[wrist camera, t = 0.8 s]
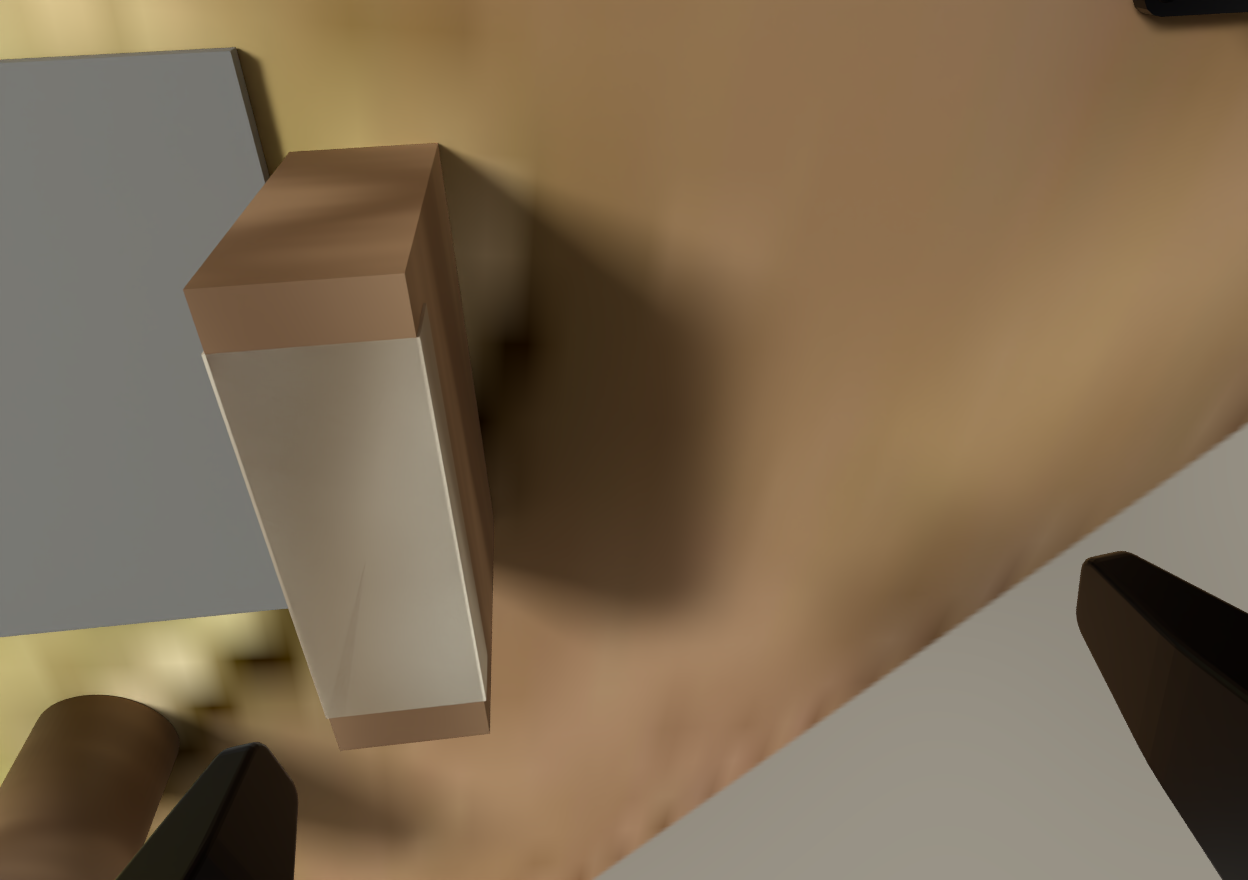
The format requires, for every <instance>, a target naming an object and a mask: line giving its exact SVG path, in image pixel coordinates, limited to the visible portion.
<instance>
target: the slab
mask: <svg viewBox="0 0 1248 880" xmlns="http://www.w3.org/2000/svg"><path fill="white" fill-rule="evenodd" d="M183 292H184V295H185V298H186V301H187V304H188V306H189V309H190V312H191V315H192V318H193V321H194V324H195V327H196V330H197V333H198V336H199V339H200V342H201V345H202V348H203V350H204V351H203V353H202V354H201V355H202V358H203V361H204V364H205V367H206V370H207V373H208V376H209V379H210V382H211V385H212V387H213V390H214V393H215V396H216V399H217V402H218V405H219V408H220V411H221V414H222V417H223V419H224V422H225V425H226V428H227V431H228V434H229V437H230V440H231V443H232V446H233V449H234V451H235V454H236V457H237V460H238V463H239V466H240V469H241V472H242V475H243V478H244V481H245V483H246V486H247V489H248V492H249V495H250V498H251V501H252V504H253V507H254V510H255V513H256V515H257V518H258V521H259V524H260V527H261V530H262V533H263V536H264V539H265V542H266V545H267V547H268V550H269V553H270V556H271V559H272V562H273V565H274V568H275V571H276V574H277V577H278V579H279V582H280V585H281V588H282V591H283V594H284V597H285V600H286V603H287V606H288V609H289V611H290V614H291V617H292V620H293V623H294V626H295V629H296V632H297V635H298V638H299V641H300V643H301V646H302V649H303V652H304V655H305V658H306V661H307V664H308V667H309V670H310V673H311V675H312V678H313V681H314V684H315V687H316V690H317V693H318V696H319V699H320V702H321V705H322V707H323V710H324V713H325V716H326V719H328V718H329V720H330V723H331V726H332V729H333V732H334V735H335V738H336V740H337V743H338V746H339V749H340V751H342V750H351V749H360V748H369V747H378V746H386V745H395V744H404V743H413V742H421V741H430V740H439V739H448V738H457V737H465V736H474V735H483V734H490V699H491V651H492V604H493V556H494V516H493V509H492V502H491V496H490V489H489V482H488V476H487V469H486V462H485V455H484V449H483V442H482V435H481V428H480V422H479V415H478V408H477V402H476V395H475V388H474V381H473V375H472V368H471V361H470V355H469V348H468V341H467V334H466V328H465V321H464V314H463V307H462V301H461V294H460V287H459V281H458V274H457V267H456V260H455V254H454V247H453V240H452V233H451V227H450V220H449V213H448V207H447V200H446V193H445V186H444V180H443V173H442V166H441V159H440V153H439V146H438V143H427V144H411V145H395V146H379V147H363V148H347V149H330V150H314V151H298V152H289V153H288V154H287V156H286V157H285V158H284V160H283V161H282V162H281V164H280V165H279V166H278V167H277V169H276V170H275V171H274V173H273V174H272V175H271V176H270V178H269V179H268V180H267V182H266V183H265V184H264V185H263V187H262V188H261V189H260V191H259V192H258V193H257V194H256V196H255V197H254V198H253V200H252V201H251V202H250V203H249V205H248V206H247V207H246V209H245V210H244V211H243V213H242V214H241V215H240V216H239V218H238V219H237V220H236V222H235V223H234V224H233V225H232V227H231V228H230V229H229V231H228V232H227V233H226V234H225V236H224V237H223V238H222V240H221V241H220V242H219V243H218V245H217V246H216V247H215V249H214V250H213V251H212V252H211V254H210V255H209V256H208V258H207V259H206V260H205V261H204V263H203V264H202V265H201V267H200V268H199V269H198V271H197V272H196V273H195V274H194V276H193V277H192V278H191V280H190V281H189V282H188V283H187V285H186V286H185V287H184V289H183Z"/></svg>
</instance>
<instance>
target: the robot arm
mask: <svg viewBox="0 0 1248 880" xmlns="http://www.w3.org/2000/svg"><path fill="white" fill-rule="evenodd" d="M1133 2H1134V5H1135V7H1136V8H1137V9H1138V10H1139V11H1140V12H1142V13H1146V14H1151V15H1155V16H1161V17H1165V16H1183V15H1201V14H1220V13H1238V12H1248V0H1133ZM1076 608H1077V609H1076V615H1077V622H1078V626H1079V629H1080V632H1081V634H1082V636H1083V638H1084V640H1085V642H1086V644H1087V646H1088V648H1089V650H1090V651H1091V654H1092V656H1093V658H1094V660H1095V662H1096V663H1097V665H1098V667H1099V669H1100V671H1101V673H1102V675H1103V677H1104V679H1105V681H1106V683H1107V685H1108V687H1109V689H1110V691H1111V693H1112V695H1113V697H1114V699H1115V701H1116V703H1117V705H1118V707H1119V709H1120V711H1121V713H1122V715H1123V717H1124V719H1125V721H1126V723H1127V725H1128V727H1129V729H1130V731H1131V733H1132V735H1133V737H1134V738H1135V740H1136V742H1137V744H1138V746H1139V748H1140V750H1141V752H1142V753H1143V756H1144V757H1145V759H1146V761H1147V763H1148V765H1149V766H1150V768H1151V770H1152V771H1153V773H1154V775H1155V776H1156V778H1157V779H1158V781H1159V782H1160V784H1161V786H1162V788H1163V789H1164V790H1165V792H1166V794H1167V795H1168V797H1169V798H1170V800H1171V801H1172V803H1173V804H1174V806H1175V808H1176V809H1177V810H1178V812H1179V813H1180V815H1181V817H1182V818H1183V820H1184V821H1185V823H1186V824H1187V826H1188V828H1189V829H1190V831H1191V832H1192V833H1193V835H1194V837H1195V838H1196V840H1197V841H1198V843H1199V844H1200V846H1201V847H1202V849H1203V850H1204V852H1205V854H1206V855H1207V857H1208V858H1209V860H1210V861H1211V863H1212V864H1213V866H1214V868H1215V869H1216V871H1217V872H1218V874H1219V875H1220V877H1221V878H1222V880H1248V613H1246V612H1244V611H1242V610H1240V609H1239V608H1237V607H1235V606H1233V605H1231V604H1229V603H1227V602H1225V601H1223V600H1221V599H1219V598H1217V597H1215V596H1213V595H1212V594H1209V593H1208V592H1206V591H1204V590H1202V589H1200V588H1198V587H1196V586H1194V585H1192V584H1190V583H1188V582H1187V581H1185V580H1182V579H1181V578H1179V577H1177V576H1175V575H1173V574H1171V573H1169V572H1167V571H1165V570H1163V569H1161V568H1160V567H1158V566H1156V565H1154V564H1152V563H1150V562H1148V561H1146V560H1144V559H1142V558H1140V557H1138V556H1136V555H1134V554H1132V553H1129V552H1126V551H1117V552H1113V553H1108V554H1103V555H1099V556H1094V557H1090V558H1088V559H1086V560H1085V562H1084V563H1083V565H1082V569H1081V575H1080V583H1079V591H1078V599H1077V607H1076ZM297 817H298V795H297V791H296V788H295V785H294V783H293V781H292V780H291V778H290V777H289V776H288V774H287V773H286V771H285V770H284V769H283V767H282V766H281V765H280V763H279V762H278V761H277V759H276V758H275V757H274V755H273V754H272V753H271V751H270V750H269V749H268V747H267V746H266V745H264V744H262V743H260V742H253V743H248V744H244V745H239V746H235V747H230V748H227V749H225V750H223V751H222V752H221V753H219V754H218V755H217V756H216V757H215V759H214V760H213V761H212V762H211V763H210V765H209V766H208V767H207V768H206V769H205V771H204V772H203V773H202V774H201V776H200V777H199V778H198V779H197V780H196V782H195V783H194V784H193V785H192V786H191V788H190V789H189V790H188V791H187V793H186V794H185V795H184V796H183V797H182V799H181V800H180V801H179V802H178V804H177V805H176V806H175V807H174V808H173V810H172V811H171V812H170V813H169V814H168V816H167V817H166V818H165V819H164V821H163V822H162V823H161V824H160V825H159V827H158V828H157V829H156V830H155V831H154V833H153V834H152V835H151V836H150V838H149V839H148V840H147V841H146V842H145V844H144V845H143V846H142V847H141V849H140V850H139V851H138V852H137V853H136V855H135V856H134V857H133V858H132V859H131V861H130V862H129V863H128V864H127V866H126V867H125V868H124V869H123V870H122V872H121V873H120V874H119V875H118V876H117V878H116V879H115V880H294V868H295V851H296V834H297Z"/></svg>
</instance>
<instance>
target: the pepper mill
mask: <svg viewBox="0 0 1248 880" xmlns="http://www.w3.org/2000/svg"><path fill="white" fill-rule="evenodd" d="M179 745H180V743H179V737H178V735H177V732H176V731H175V729H174V727H173V726H172V725H171V724H170V722H169V721H168V720H167V719H165V718H164V717H163V716H162V715H161V714H159V713H158V712H156V711H155V710H153V709H151V708H149V707H147V706H145V705H143V704H140V703H137V702H135V701H132V700H128V699H124V698H119V697H114V696H105V695H88V696H79V697H73V698H69V699H66V700H63V701H60V702H58V703H56V704H54V705H52V706H51V707H49V708H48V709H46V710H45V711H44V712H43V713H42V714H41V716H40V717H39V719H38V720H37V722H36V724H35V726H34V727H33V729H32V731H31V733H30V735H29V736H28V738H27V740H26V742H25V744H24V745H23V747H22V749H21V751H20V753H19V754H18V756H17V758H16V760H15V762H14V763H13V765H12V767H11V769H10V771H9V772H8V774H7V776H6V778H5V780H4V781H3V783H2V785H1V787H0V880H115V879H116V878H117V876H118V875H119V874H120V873H121V872H122V870H123V869H124V868H125V867H126V866H127V864H128V863H129V862H130V861H131V859H132V858H133V857H134V856H135V855H136V853H137V852H138V851H139V850H140V849H141V847H142V846H143V845H144V842H145V840H146V837H147V835H148V832H149V829H150V827H151V824H152V821H153V819H154V816H155V813H156V811H157V808H158V805H159V803H160V800H161V797H162V795H163V792H164V789H165V787H166V784H167V781H168V779H169V776H170V773H171V771H172V768H173V765H174V763H175V760H176V757H177V755H178V751H179Z"/></svg>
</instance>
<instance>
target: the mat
mask: <svg viewBox="0 0 1248 880" xmlns="http://www.w3.org/2000/svg"><path fill="white" fill-rule="evenodd" d="M269 178H270V177H269V173H268V169H267V165H266V161H265V157H264V154H263V150H262V146H261V142H260V138H259V134H258V130H257V127H256V123H255V119H254V115H253V111H252V107H251V104H250V100H249V96H248V92H247V88H246V84H245V81H244V77H243V73H242V69H241V65H240V61H239V57H238V54H237V50H236V47H232V48H214V49H195V50H176V51H157V52H138V53H119V54H100V55H81V56H62V57H43V58H24V59H5V60H0V637H7V636H17V635H27V634H37V633H47V632H57V631H67V630H76V629H86V628H96V627H106V626H116V625H126V624H136V623H146V622H156V621H166V620H176V619H186V618H196V617H206V616H216V615H226V614H236V613H246V612H256V611H266V610H276V609H286V608H288V606H287V603H286V600H285V597H284V594H283V591H282V588H281V585H280V582H279V579H278V577H277V574H276V571H275V568H274V565H273V562H272V559H271V556H270V553H269V550H268V547H267V545H266V542H265V539H264V536H263V533H262V530H261V527H260V524H259V521H258V518H257V515H256V513H255V510H254V507H253V504H252V501H251V498H250V495H249V492H248V489H247V486H246V483H245V481H244V478H243V475H242V472H241V469H240V466H239V463H238V460H237V457H236V454H235V451H234V449H233V446H232V443H231V440H230V437H229V434H228V431H227V428H226V425H225V422H224V419H223V417H222V414H221V411H220V408H219V405H218V402H217V399H216V396H215V393H214V390H213V387H212V385H211V382H210V379H209V376H208V373H207V370H206V367H205V364H204V361H203V358H202V355H201V354H202V353H203V351H204V350H203V348H202V345H201V342H200V339H199V336H198V333H197V330H196V327H195V324H194V321H193V318H192V315H191V312H190V309H189V306H188V304H187V301H186V298H185V295H184V292H183V289H184V287H185V286H186V285H187V283H188V282H189V281H190V280H191V278H192V277H193V276H194V274H195V273H196V272H197V271H198V269H199V268H200V267H201V265H202V264H203V263H204V261H205V260H206V259H207V258H208V256H209V255H210V254H211V252H212V251H213V250H214V249H215V247H216V246H217V245H218V243H219V242H220V241H221V240H222V238H223V237H224V236H225V234H226V233H227V232H228V231H229V229H230V228H231V227H232V225H233V224H234V223H235V222H236V220H237V219H238V218H239V216H240V215H241V214H242V213H243V211H244V210H245V209H246V207H247V206H248V205H249V203H250V202H251V201H252V200H253V198H254V197H255V196H256V194H257V193H258V192H259V191H260V189H261V188H262V187H263V185H264V184H265V183H266V182H267V180H268V179H269Z"/></svg>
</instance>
